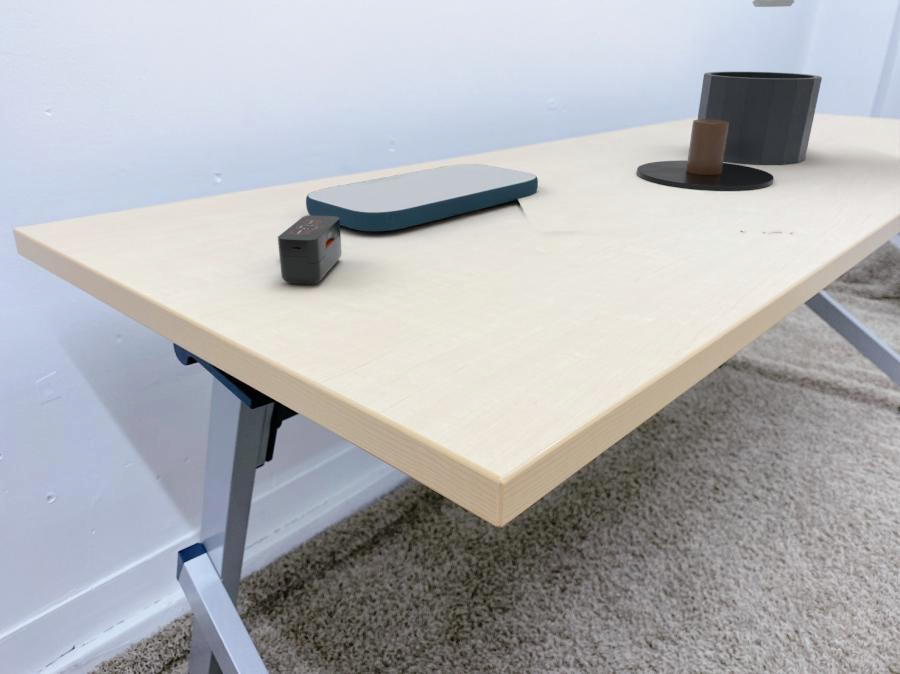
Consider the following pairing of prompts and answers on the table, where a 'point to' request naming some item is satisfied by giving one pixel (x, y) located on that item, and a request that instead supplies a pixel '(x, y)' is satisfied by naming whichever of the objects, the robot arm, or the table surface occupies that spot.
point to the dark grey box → (309, 249)
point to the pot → (762, 114)
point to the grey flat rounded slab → (420, 196)
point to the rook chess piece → (772, 3)
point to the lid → (706, 164)
